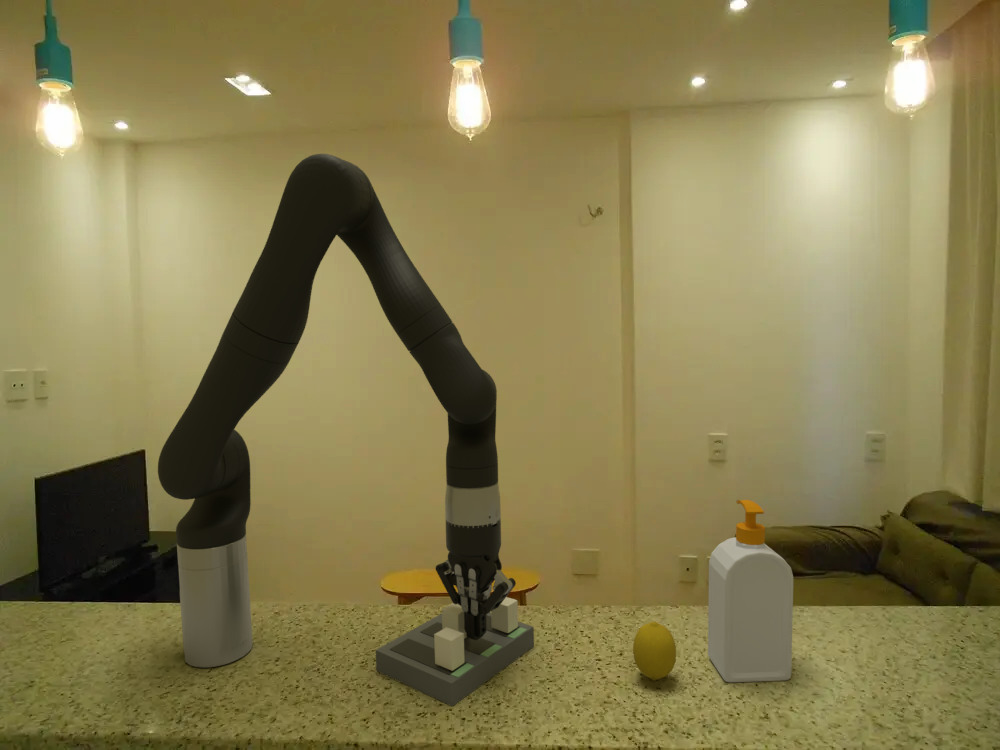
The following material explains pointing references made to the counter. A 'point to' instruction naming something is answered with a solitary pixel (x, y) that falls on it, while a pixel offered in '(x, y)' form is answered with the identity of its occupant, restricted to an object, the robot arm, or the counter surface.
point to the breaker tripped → (453, 618)
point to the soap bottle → (750, 606)
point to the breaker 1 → (449, 648)
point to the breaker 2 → (505, 615)
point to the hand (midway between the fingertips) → (475, 636)
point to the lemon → (654, 650)
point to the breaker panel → (482, 660)
